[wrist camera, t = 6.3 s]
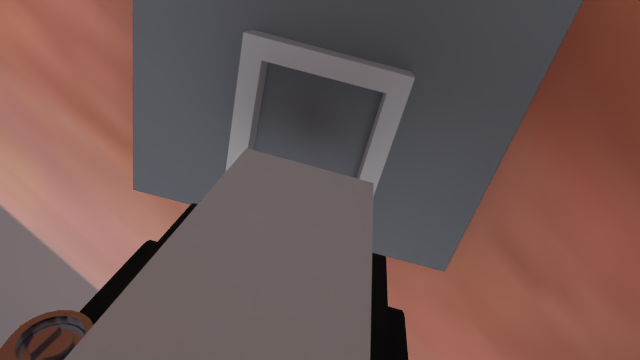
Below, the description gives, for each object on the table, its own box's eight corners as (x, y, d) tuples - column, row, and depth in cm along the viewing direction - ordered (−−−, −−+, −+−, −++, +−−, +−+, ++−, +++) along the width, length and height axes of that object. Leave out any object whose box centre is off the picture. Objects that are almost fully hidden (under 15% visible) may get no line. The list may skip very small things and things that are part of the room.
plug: (373, 182, 11) (368, 500, 4) (327, 315, 14) (276, 648, 7) (246, 148, 11) (27, 401, 4) (225, 286, 14) (68, 586, 7)
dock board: (742, -343, 12) (826, -418, 10) (441, 261, 24) (449, 288, 22) (149, -503, 12) (100, -614, 10) (141, 182, 24) (118, 201, 22)
